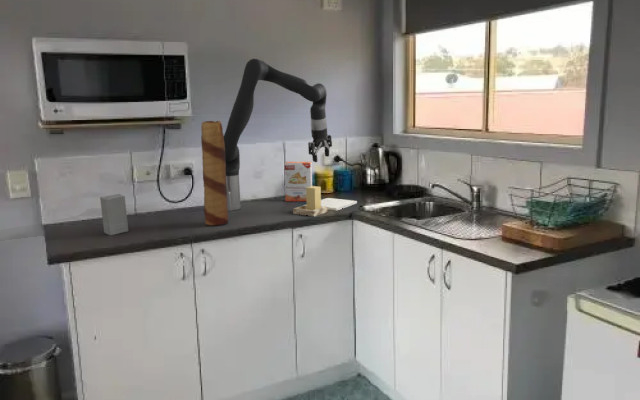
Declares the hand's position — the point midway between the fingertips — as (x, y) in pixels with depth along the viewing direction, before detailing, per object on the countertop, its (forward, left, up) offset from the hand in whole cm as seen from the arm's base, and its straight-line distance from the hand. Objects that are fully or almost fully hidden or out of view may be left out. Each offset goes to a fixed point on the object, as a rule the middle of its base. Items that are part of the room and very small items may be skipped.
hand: (321, 159), depth 251 cm
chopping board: (+9, 0, -25) cm, 26 cm away
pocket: (-10, 0, -25) cm, 27 cm away
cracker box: (+10, +22, -25) cm, 35 cm away
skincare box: (-82, +50, -25) cm, 99 cm away
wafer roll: (-49, +24, -25) cm, 60 cm away
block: (-8, 0, -25) cm, 26 cm away
